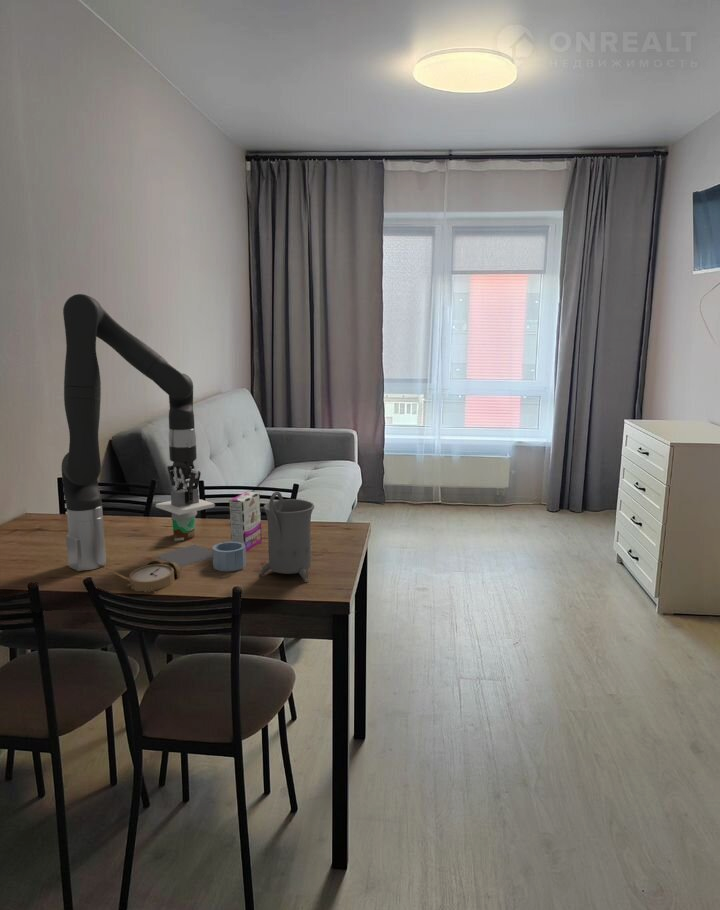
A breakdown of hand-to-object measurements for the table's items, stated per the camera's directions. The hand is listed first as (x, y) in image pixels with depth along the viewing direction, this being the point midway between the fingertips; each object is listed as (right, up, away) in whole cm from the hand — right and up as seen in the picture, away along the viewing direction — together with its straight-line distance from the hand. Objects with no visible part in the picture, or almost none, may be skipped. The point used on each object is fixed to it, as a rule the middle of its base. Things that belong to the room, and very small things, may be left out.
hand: (185, 502), depth 197 cm
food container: (-4, -13, +20) cm, 25 cm away
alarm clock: (-3, -21, -16) cm, 26 cm away
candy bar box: (+16, -15, +12) cm, 25 cm away
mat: (0, -16, +3) cm, 17 cm away
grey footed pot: (+31, -19, -11) cm, 38 cm away
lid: (0, -1, 0) cm, 1 cm away
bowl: (+14, -18, -5) cm, 23 cm away
